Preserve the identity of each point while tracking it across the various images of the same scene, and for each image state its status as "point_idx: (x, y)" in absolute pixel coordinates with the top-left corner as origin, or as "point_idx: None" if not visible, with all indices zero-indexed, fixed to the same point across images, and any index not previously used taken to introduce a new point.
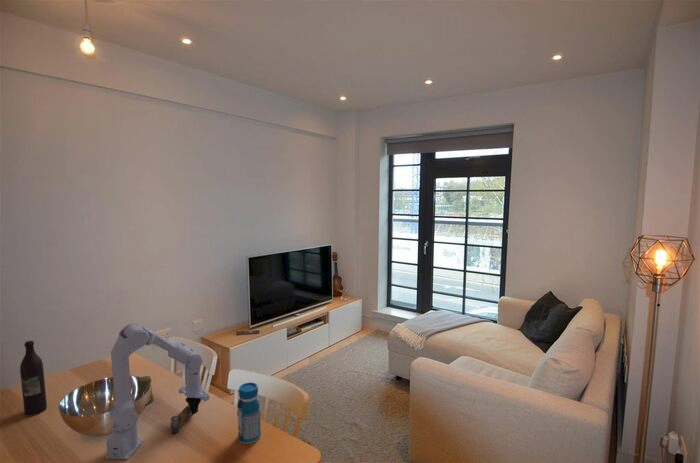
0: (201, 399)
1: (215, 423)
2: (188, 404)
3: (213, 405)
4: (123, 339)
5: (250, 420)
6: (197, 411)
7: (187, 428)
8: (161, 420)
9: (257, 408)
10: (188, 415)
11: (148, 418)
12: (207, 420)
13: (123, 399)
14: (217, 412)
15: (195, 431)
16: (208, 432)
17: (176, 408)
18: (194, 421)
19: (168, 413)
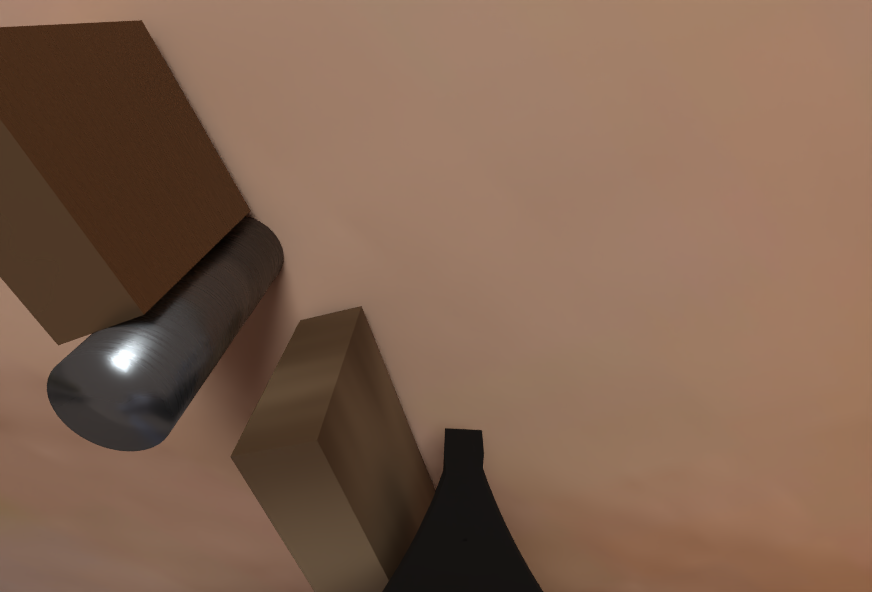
0: (135, 25)
1: (857, 416)
2: (312, 581)
3: (523, 49)
4: None
5: None
6: (482, 439)
7: (543, 566)
8: (154, 563)
9: None
10: None
11: (4, 578)
12: (695, 407)
13: None
14: (748, 204)
15: (671, 572)
16: (843, 545)
17: (37, 369)
18: (528, 472)
19: (76, 470)
